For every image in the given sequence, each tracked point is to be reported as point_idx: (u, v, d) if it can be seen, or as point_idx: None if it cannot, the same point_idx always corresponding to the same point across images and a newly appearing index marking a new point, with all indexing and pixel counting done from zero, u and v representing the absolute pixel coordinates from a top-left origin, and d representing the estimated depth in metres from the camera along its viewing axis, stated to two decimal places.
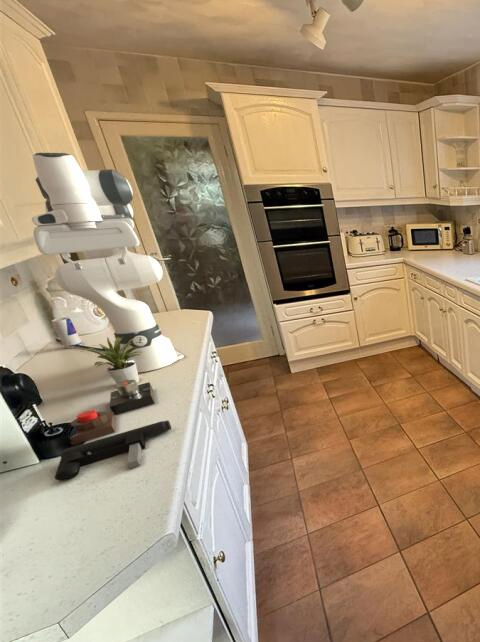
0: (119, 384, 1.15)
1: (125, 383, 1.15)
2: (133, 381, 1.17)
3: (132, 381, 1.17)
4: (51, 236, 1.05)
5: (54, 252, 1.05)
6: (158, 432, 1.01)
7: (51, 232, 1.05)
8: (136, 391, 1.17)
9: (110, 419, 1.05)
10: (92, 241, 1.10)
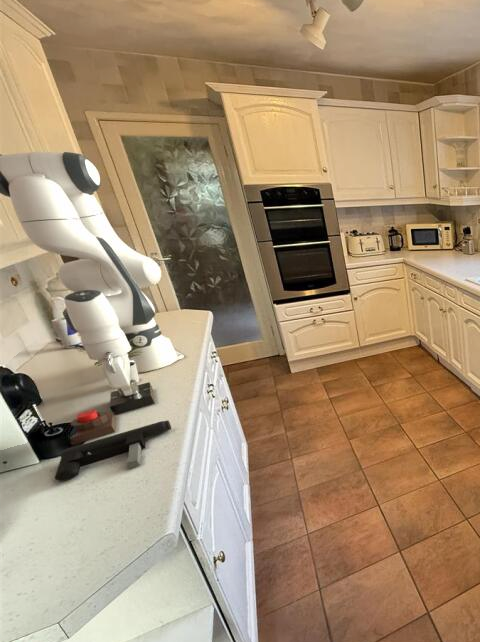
0: None
1: None
2: (133, 381, 1.17)
3: (132, 381, 1.17)
4: None
5: None
6: (158, 432, 1.01)
7: None
8: (136, 391, 1.17)
9: (110, 419, 1.05)
10: None
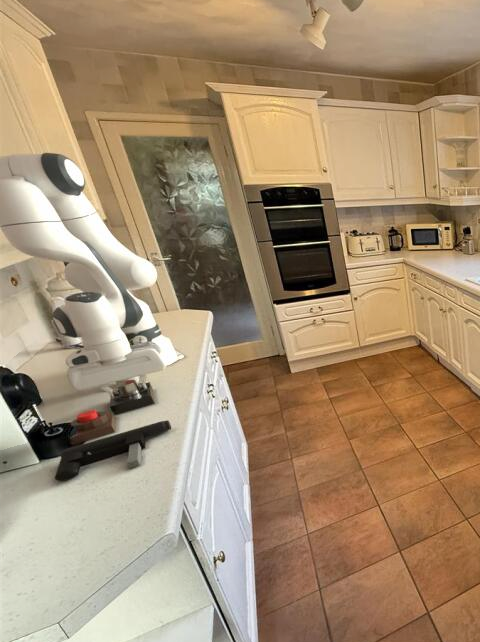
0: (124, 384, 1.15)
1: (130, 381, 1.16)
2: (127, 380, 1.17)
3: (127, 381, 1.17)
4: (83, 373, 1.08)
5: (86, 387, 1.09)
6: (158, 432, 1.01)
7: (83, 370, 1.08)
8: None
9: (110, 419, 1.05)
10: (122, 372, 1.13)
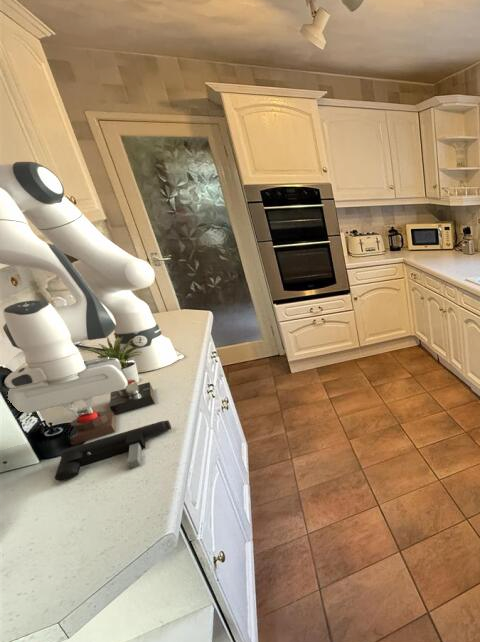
0: None
1: (130, 381, 1.16)
2: (127, 380, 1.17)
3: (127, 381, 1.17)
4: (27, 395, 0.94)
5: (31, 411, 0.95)
6: (158, 432, 1.01)
7: (27, 391, 0.94)
8: None
9: (110, 419, 1.05)
10: (74, 392, 0.99)
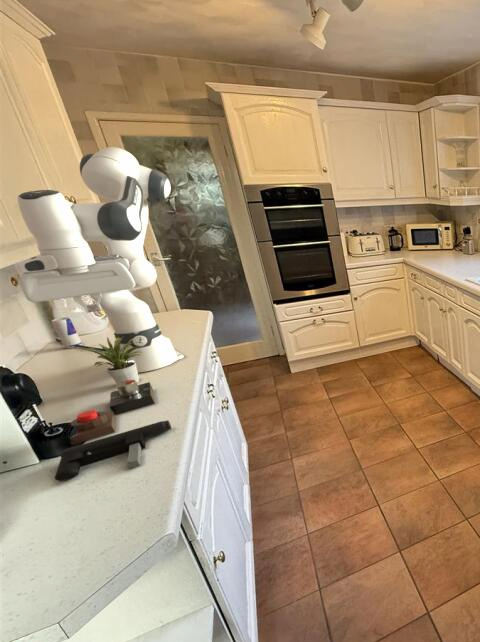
0: (124, 384, 1.15)
1: (130, 381, 1.16)
2: (127, 380, 1.17)
3: (127, 381, 1.17)
4: (39, 282, 0.97)
5: (43, 299, 0.98)
6: (158, 432, 1.01)
7: (39, 278, 0.96)
8: None
9: (110, 419, 1.05)
10: (84, 286, 1.02)
